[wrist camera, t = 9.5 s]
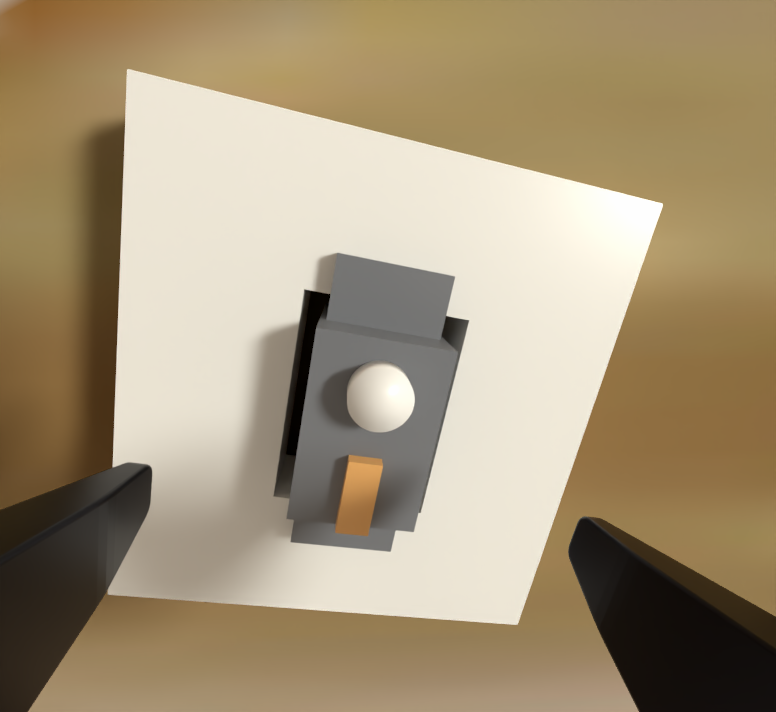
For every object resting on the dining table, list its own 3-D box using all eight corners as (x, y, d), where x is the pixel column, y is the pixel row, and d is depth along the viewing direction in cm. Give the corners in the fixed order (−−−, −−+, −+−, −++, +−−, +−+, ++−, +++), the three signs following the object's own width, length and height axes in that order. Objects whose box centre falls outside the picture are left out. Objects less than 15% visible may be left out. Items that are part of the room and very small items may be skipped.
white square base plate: (492, 569, 20) (517, 624, 17) (147, 537, 17) (108, 594, 14) (605, 211, 16) (663, 203, 13) (175, 107, 13) (127, 68, 10)
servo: (386, 493, 18) (404, 604, 12) (296, 483, 17) (273, 594, 12) (436, 270, 16) (485, 284, 10) (334, 250, 15) (326, 252, 9)
